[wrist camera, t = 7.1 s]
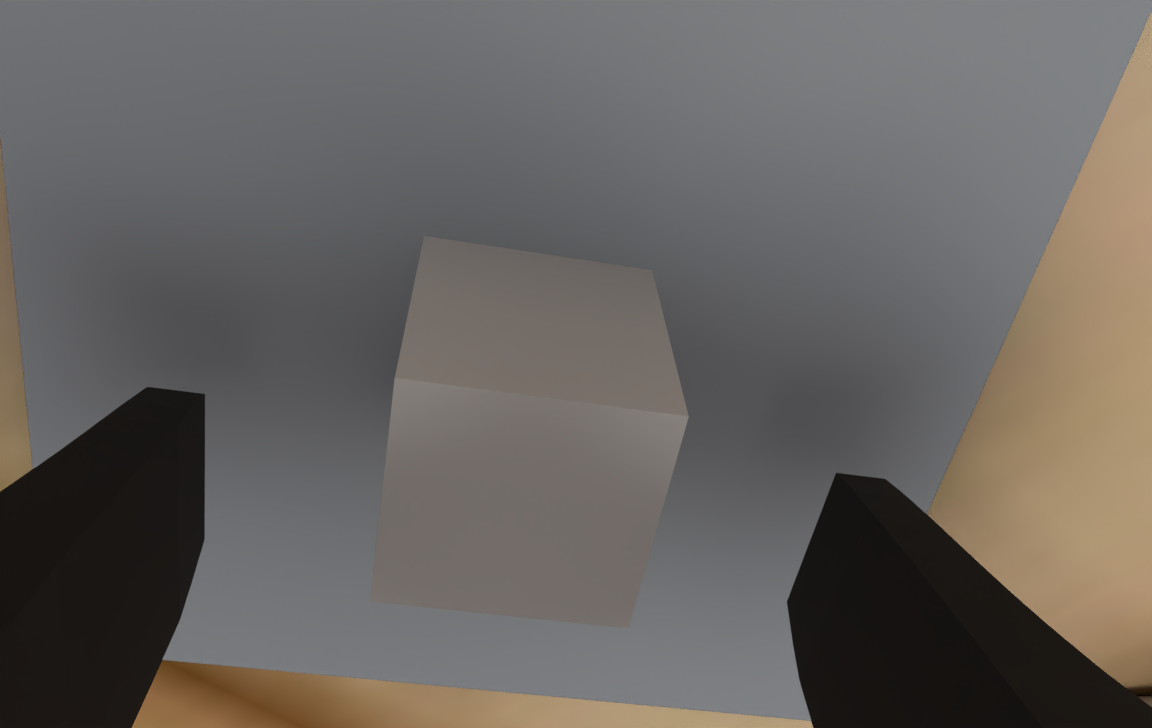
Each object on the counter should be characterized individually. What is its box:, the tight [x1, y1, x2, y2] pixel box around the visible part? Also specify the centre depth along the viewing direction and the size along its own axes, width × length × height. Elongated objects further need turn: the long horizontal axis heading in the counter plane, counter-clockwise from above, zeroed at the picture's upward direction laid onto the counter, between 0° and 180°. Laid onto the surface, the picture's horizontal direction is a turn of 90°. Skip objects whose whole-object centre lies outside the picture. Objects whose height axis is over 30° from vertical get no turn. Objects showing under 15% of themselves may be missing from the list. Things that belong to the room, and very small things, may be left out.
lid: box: [0, 0, 1152, 721], centre depth 13 cm, size 13×13×4 cm
